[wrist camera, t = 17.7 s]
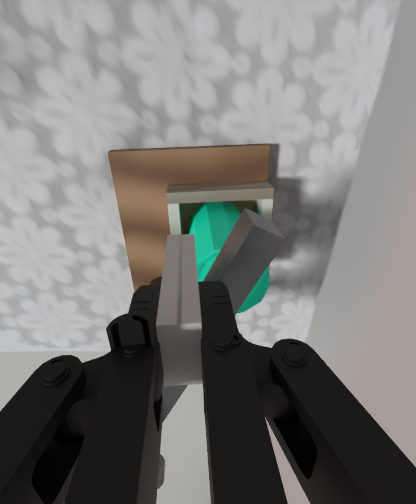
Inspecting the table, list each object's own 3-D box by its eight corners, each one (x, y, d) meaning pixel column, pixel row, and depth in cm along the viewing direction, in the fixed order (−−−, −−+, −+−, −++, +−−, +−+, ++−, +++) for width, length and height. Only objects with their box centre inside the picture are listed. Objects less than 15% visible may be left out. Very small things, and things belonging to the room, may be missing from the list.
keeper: (203, 147, 25) (232, 231, 9) (241, 167, 26) (330, 274, 10) (136, 294, 32) (83, 491, 16) (168, 304, 34) (149, 500, 17)
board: (110, 150, 26) (98, 157, 23) (267, 143, 27) (279, 150, 23) (138, 294, 34) (131, 317, 31) (257, 287, 35) (265, 308, 31)
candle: (240, 253, 31) (266, 330, 21) (186, 249, 30) (186, 327, 20) (249, 201, 28) (286, 260, 18) (191, 196, 28) (192, 254, 17)
